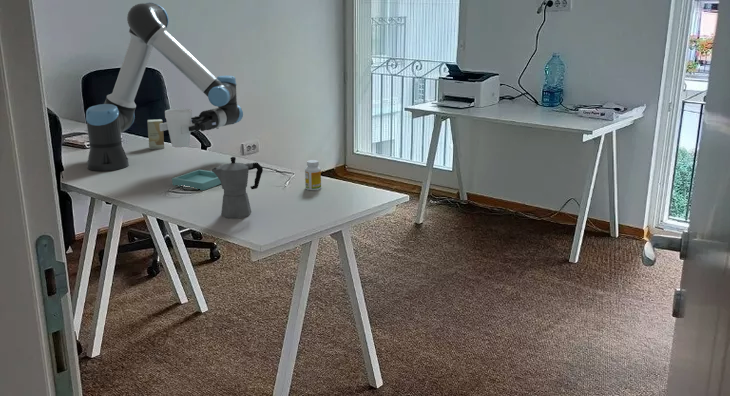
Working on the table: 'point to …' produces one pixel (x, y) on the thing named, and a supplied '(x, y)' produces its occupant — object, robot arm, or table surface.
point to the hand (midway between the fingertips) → (170, 128)
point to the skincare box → (155, 134)
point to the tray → (197, 179)
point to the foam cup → (178, 126)
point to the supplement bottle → (313, 175)
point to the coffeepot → (236, 187)
